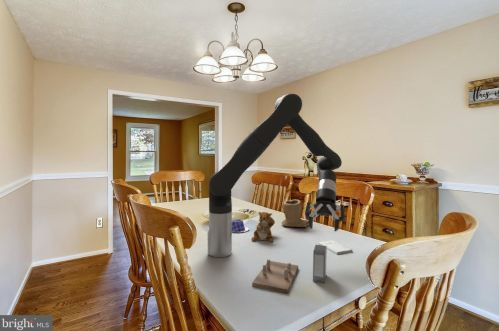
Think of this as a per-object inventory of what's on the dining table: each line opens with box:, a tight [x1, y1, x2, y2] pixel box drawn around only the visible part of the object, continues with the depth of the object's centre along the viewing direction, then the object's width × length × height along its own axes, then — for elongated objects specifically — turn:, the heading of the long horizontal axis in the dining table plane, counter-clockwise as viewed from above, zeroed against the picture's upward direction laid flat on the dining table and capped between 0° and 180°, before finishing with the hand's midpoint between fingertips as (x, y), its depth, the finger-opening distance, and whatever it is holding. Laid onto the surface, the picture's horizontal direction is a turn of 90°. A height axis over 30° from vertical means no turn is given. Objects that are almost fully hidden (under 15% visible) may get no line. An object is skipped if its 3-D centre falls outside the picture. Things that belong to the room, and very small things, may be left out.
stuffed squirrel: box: [251, 211, 276, 243], centre depth 121 cm, size 10×14×13 cm
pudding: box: [232, 218, 249, 233], centre depth 134 cm, size 12×12×5 cm
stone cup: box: [281, 199, 309, 228], centre depth 140 cm, size 15×12×15 cm
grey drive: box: [312, 244, 328, 284], centre depth 82 cm, size 6×4×10 cm, turn 159°
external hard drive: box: [317, 239, 354, 255], centre depth 109 cm, size 2×8×12 cm
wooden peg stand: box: [252, 258, 299, 294], centre depth 83 cm, size 17×11×4 cm, turn 159°
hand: (323, 229), depth 91 cm, fingers open, 8 cm apart
